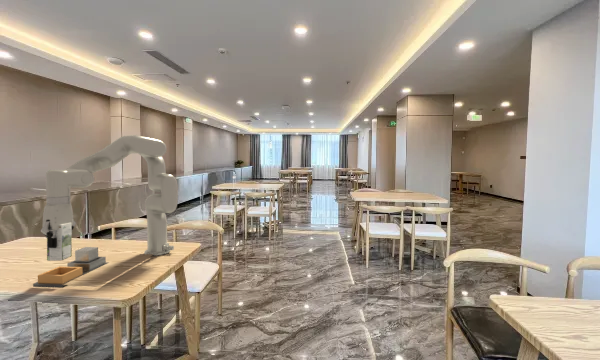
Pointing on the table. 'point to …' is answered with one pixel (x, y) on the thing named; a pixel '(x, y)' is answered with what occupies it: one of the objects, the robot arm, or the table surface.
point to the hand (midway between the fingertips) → (59, 244)
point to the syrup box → (61, 244)
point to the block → (86, 255)
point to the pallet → (67, 273)
